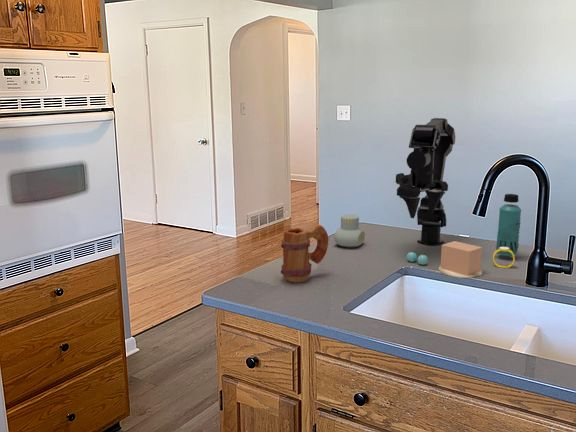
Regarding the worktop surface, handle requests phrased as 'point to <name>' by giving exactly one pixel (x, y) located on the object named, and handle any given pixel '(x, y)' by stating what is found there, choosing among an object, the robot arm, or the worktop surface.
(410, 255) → the marble
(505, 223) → the beverage bottle
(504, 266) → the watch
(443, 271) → the coaster
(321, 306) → the worktop surface
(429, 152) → the robot arm
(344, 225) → the air freshener
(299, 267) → the mug
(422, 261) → the marble
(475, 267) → the salmon pink block
